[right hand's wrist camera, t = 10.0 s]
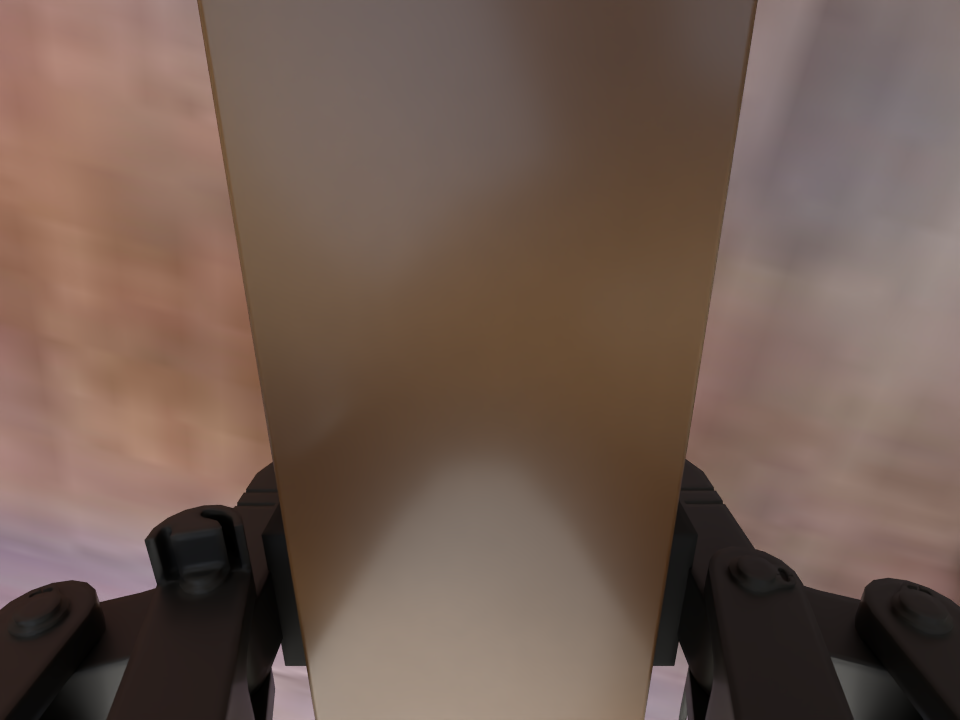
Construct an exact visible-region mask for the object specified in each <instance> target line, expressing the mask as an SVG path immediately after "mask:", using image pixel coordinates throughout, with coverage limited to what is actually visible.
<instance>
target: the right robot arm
mask: <svg viewBox="0 0 960 720" xmlns="http://www.w3.org/2000/svg"><path fill="white" fill-rule="evenodd" d="M145 544H146V547H147V551H148V554H149V558H150V561H151V565H152V568H153V572H154V575H155V579H156V583H157V586H156V588H155V589H152V590H148V591H145V592H142V593H137V594H133V595H129V596H124V597H120V598H116V599H111V600H107V601H103V602H99V599H98V596H97V593H96V590H95V589H94V588H93V587H92V586H90V585H89V584H88V583H87V582H80V581H74V580H70V581H63V582H56V583H51V584H48V585H46V586H43V587H40V588H37V589H34V590H31V591H29V592H28V593H26V594H24V595H22V596H20V597H18V598H16V599H15V600H13V601H11V602H9V603H8V604H7V605H6V606H5V607H3V608H2V609H1V610H0V720H272V717H273V706H274V695H275V685H274V678H273V673H272V668H271V667H272V664H273V662H274V659H275V657H276V654H277V652H278V649H279V647H280V644H281V645H282V650H283V656H284V661H285V666H306V660H305V654H304V648H303V642H302V636H301V630H300V624H299V618H298V612H297V605H296V599H295V593H294V587H293V581H292V575H291V569H290V563H289V557H288V551H287V545H286V538H285V532H284V526H283V520H282V514H281V508H280V502H279V496H278V490H277V484H276V478H275V471H274V465H273V462H272V463H271V464H269V465H268V466H266V467H265V468H264V469H262V470H261V471H260V472H258V473H257V474H256V475H255V477H254V478H253V480H252V481H251V483H250V484H249V486H248V487H247V489H246V493H243V495H242V496H241V498H240V499H239V501H238V502H237V506H235V507H234V508H231V507H227V506H223V505H205V506H200V507H196V508H192V509H187V510H184V511H182V512H180V513H178V514H175V515H173V516H171V517H169V518H167V519H166V520H164V521H163V522H162V523H160V524H159V525H157V526H156V527H155V528H153V530H152V531H151V532H150V534H149V535H148V536H147V538H146V539H145ZM679 642H680V645H681V647H682V650H683V652H684V655H685V657H686V660H687V662H688V665H689V668H688V673H687V678H686V683H685V688H684V693H683V698H682V703H681V708H680V715H679V720H686V719H687V716H688V720H960V607H959V606H958V605H957V604H955V603H954V602H953V601H952V600H950V599H948V598H947V597H945V596H943V595H941V594H939V593H937V592H936V591H934V590H932V589H930V588H928V587H925V586H922V585H919V584H916V583H913V582H910V581H907V580H900V579H893V578H884V579H878V580H873V581H872V582H871V583H869V584H868V585H867V586H866V587H865V589H864V592H863V595H862V598H861V600H858V599H854V598H850V597H845V596H841V595H837V594H832V593H828V592H824V591H819V590H816V589H813V588H809V587H806V586H804V585H803V583H802V582H801V580H800V579H799V577H798V576H797V574H796V573H795V571H794V570H792V569H791V568H790V567H789V566H787V565H786V564H785V563H784V562H783V561H781V560H780V559H778V558H776V557H774V556H772V555H770V554H768V553H766V552H763V551H760V550H756V549H755V548H754V547H753V545H752V544H751V542H750V541H749V539H748V538H747V536H746V535H745V533H744V532H743V530H742V529H741V527H740V526H739V524H738V523H737V521H736V520H735V518H734V517H733V515H732V514H731V513H730V511H729V510H728V508H727V507H726V505H725V504H723V501H722V499H721V498H720V496H719V495H718V493H717V492H716V491H714V487H713V486H712V484H711V483H710V481H709V480H708V478H707V477H706V475H705V474H704V472H703V471H701V470H700V469H699V468H697V467H696V466H695V465H693V464H692V463H690V462H689V461H688V460H686V459H685V464H684V471H683V477H682V483H681V490H680V496H679V502H678V509H677V515H676V521H675V528H674V534H673V540H672V547H671V553H670V560H669V566H668V572H667V579H666V585H665V591H664V598H663V604H662V610H661V617H660V623H659V629H658V636H657V642H656V648H655V655H654V661H653V666H674V665H675V659H676V654H677V648H678V643H679Z"/></svg>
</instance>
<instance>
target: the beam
mask: <svg viewBox="0 0 960 720" xmlns="http://www.w3.org/2000/svg"><path fill="white" fill-rule="evenodd" d="M757 1H758V0H197V2H198V8H199V15H200V21H201V27H202V33H203V39H204V45H205V51H206V57H207V63H208V69H209V75H210V82H211V88H212V94H213V100H214V106H215V112H216V118H217V124H218V130H219V136H220V142H221V149H222V155H223V161H224V167H225V173H226V179H227V185H228V191H229V197H230V203H231V209H232V216H233V222H234V228H235V234H236V240H237V246H238V252H239V258H240V264H241V270H242V276H243V283H244V289H245V295H246V301H247V307H248V313H249V319H250V325H251V331H252V337H253V344H254V350H255V356H256V362H257V368H258V374H259V380H260V386H261V392H262V398H263V404H264V411H265V417H266V423H267V429H268V435H269V441H270V447H271V453H272V459H273V465H274V471H275V478H276V484H277V490H278V496H279V502H280V508H281V514H282V520H283V526H284V532H285V538H286V545H287V551H288V557H289V563H290V569H291V575H292V581H293V587H294V593H295V599H296V605H297V612H298V618H299V624H300V630H301V636H302V642H303V648H304V654H305V660H306V666H307V673H308V679H309V685H310V691H311V697H312V703H313V709H314V715H315V720H644V718H645V712H646V705H647V699H648V693H649V686H650V680H651V674H652V667H653V661H654V655H655V648H656V642H657V636H658V629H659V623H660V617H661V610H662V604H663V598H664V591H665V585H666V579H667V572H668V566H669V560H670V553H671V547H672V540H673V534H674V528H675V521H676V515H677V509H678V502H679V496H680V490H681V483H682V477H683V471H684V464H685V458H686V452H687V445H688V439H689V433H690V426H691V420H692V414H693V407H694V401H695V394H696V388H697V382H698V375H699V369H700V363H701V356H702V350H703V344H704V337H705V331H706V325H707V318H708V312H709V306H710V299H711V293H712V287H713V280H714V274H715V268H716V261H717V255H718V249H719V242H720V236H721V229H722V223H723V217H724V210H725V204H726V198H727V191H728V185H729V179H730V172H731V166H732V160H733V153H734V147H735V141H736V134H737V128H738V122H739V115H740V109H741V103H742V96H743V90H744V83H745V77H746V71H747V64H748V58H749V52H750V45H751V39H752V33H753V26H754V20H755V14H756V7H757Z"/></svg>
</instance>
